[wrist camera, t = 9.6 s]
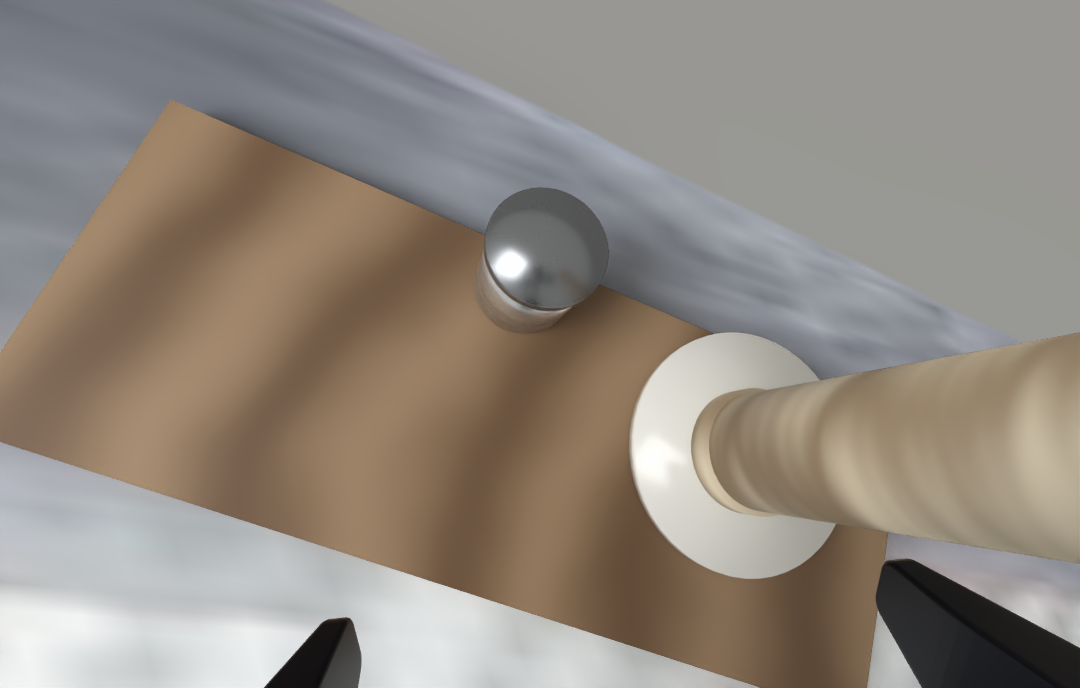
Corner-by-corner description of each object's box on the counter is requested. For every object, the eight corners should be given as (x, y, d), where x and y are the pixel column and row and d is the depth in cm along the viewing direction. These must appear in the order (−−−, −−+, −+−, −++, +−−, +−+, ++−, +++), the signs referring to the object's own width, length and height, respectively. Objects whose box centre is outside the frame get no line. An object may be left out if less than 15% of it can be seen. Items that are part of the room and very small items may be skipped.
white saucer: (876, 467, 23) (888, 468, 23) (735, 631, 20) (744, 637, 20) (741, 293, 23) (749, 289, 23) (580, 428, 20) (585, 428, 20)
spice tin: (590, 299, 22) (632, 262, 17) (513, 357, 20) (538, 332, 16) (530, 221, 22) (557, 166, 18) (450, 273, 20) (459, 227, 16)
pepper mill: (789, 527, 21) (1632, 691, 6) (680, 496, 20) (1366, 603, 6) (804, 410, 22) (1528, 326, 8) (702, 376, 21) (1301, 212, 7)
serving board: (881, 417, 25) (904, 416, 24) (838, 706, 22) (862, 720, 21) (184, 119, 20) (171, 99, 19) (-18, 427, 17) (-50, 425, 16)
